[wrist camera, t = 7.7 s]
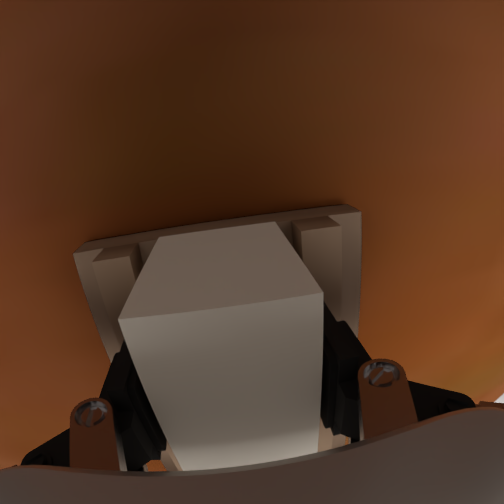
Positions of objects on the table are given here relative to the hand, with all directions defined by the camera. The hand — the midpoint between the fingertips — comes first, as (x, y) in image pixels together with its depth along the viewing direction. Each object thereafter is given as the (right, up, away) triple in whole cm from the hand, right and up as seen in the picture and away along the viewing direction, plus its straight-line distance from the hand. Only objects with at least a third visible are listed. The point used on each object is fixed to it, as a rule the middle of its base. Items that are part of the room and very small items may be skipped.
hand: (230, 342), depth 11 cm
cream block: (0, +1, +2) cm, 2 cm away
